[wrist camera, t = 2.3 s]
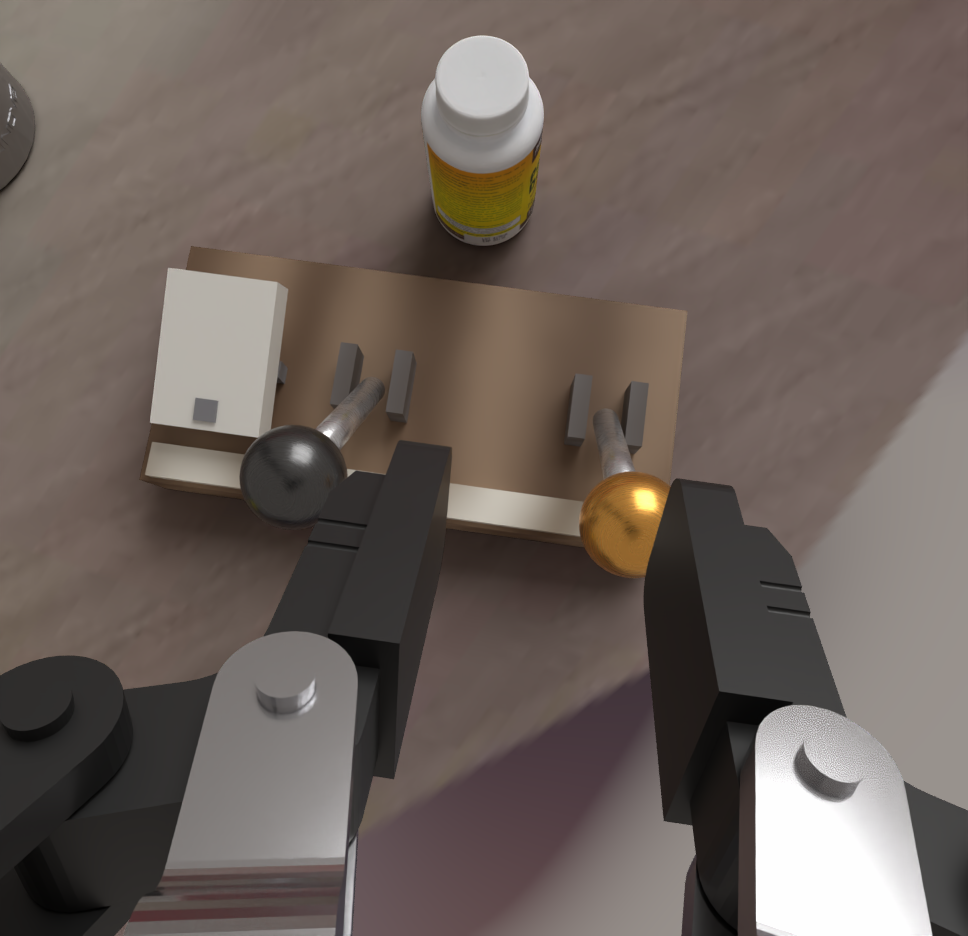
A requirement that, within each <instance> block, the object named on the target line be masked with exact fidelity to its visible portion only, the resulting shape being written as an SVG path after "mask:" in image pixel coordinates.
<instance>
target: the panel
mask: <svg viewBox="0 0 968 936" xmlns="http://www.w3.org/2000/svg"><path fill="white" fill-rule="evenodd" d="M186 270H189V271H197V272H204V273H212V274H220V275H227V276H235V277H242V278H250V279H258V280H265V281H273V282H278V283H280V284H281V285H283V286H284V287H286V288H287V289H288V295H287V303H286V311H285V319H284V327H283V335H282V343H281V351H280V359H279V367H278V375H277V383H276V391H275V399H274V407H273V415H272V423H271V429H274V428H277V427H280V426H285V425H302V426H307V427H311V428H314V429H316V428H317V427H318V426H319V425H320V424H321V423H322V422H323V421H324V420H325V419H326V418H327V417H328V415H329V414H330V413H331V412H332V411H333V410H334V409H335V408H336V407H337V406H338V405H339V404H340V403H341V402H342V401H343V400H344V399H345V398H346V397H347V396H348V395H349V394H350V393H351V392H352V391H353V390H354V389H355V388H356V387H357V386H358V385H359V384H360V383H361V382H362V381H363V380H364V379H365V378H367V377H376V378H378V379H380V380H381V381H382V383H383V384H384V387H385V393H384V396H383V397H382V399H381V400H380V401H379V402H378V404H377V405H376V406H375V407H374V409H373V410H372V411H371V412H370V414H369V415H368V416H367V417H366V419H365V420H364V421H363V422H362V424H361V425H360V426H359V427H358V429H357V430H356V431H355V432H354V433H353V435H352V436H351V437H350V438H349V440H348V441H347V442H346V443H345V445H344V446H343V447H342V448H341V450H340V451H341V453H342V455H343V457H344V460H345V463H346V467H347V473H348V476H350V475H351V474H352V473H353V472H355V471H363V472H371V473H378V474H385V475H386V472H387V470H388V467H389V464H390V462H391V459H392V456H393V453H394V451H395V448H396V445H397V443H398V441H399V440H405V441H412V442H419V443H426V444H434V445H441V446H448V447H452V464H451V476H450V488H449V499H448V511H447V523H446V528H449V529H456V530H463V531H470V532H477V533H484V534H491V535H498V536H506V537H513V538H520V539H527V540H534V541H541V542H548V543H555V544H562V545H569V546H576V547H584V546H583V543H582V540H581V537H580V532H579V517H580V511H581V508H582V505H583V503H584V501H585V499H586V497H587V495H588V494H589V493H590V491H591V490H592V489H593V488H594V487H595V486H596V485H597V484H598V483H600V482H601V481H602V480H604V477H603V472H602V467H601V462H600V457H599V452H598V447H597V442H596V437H595V432H594V428H593V422H592V420H593V416H594V414H595V413H596V412H597V411H599V410H601V409H604V408H607V409H611V410H613V411H614V412H615V413H616V414H617V416H618V419H619V422H620V425H621V428H622V431H623V434H624V437H625V440H626V444H627V447H628V450H629V453H630V456H631V459H632V462H633V465H634V468H635V472H643V473H648V474H651V475H653V476H656V477H658V478H660V479H661V480H663V481H664V482H666V483H667V484H668V485H669V486H670V477H671V467H672V457H673V448H674V438H675V428H676V418H677V408H678V398H679V388H680V378H681V369H682V359H683V349H684V339H685V329H686V319H687V311H684V310H676V309H668V308H661V307H653V306H645V305H638V304H630V303H622V302H615V301H607V300H599V299H592V298H584V297H576V296H569V295H561V294H554V293H546V292H538V291H531V290H523V289H515V288H508V287H500V286H492V285H485V284H477V283H469V282H462V281H454V280H446V279H439V278H431V277H423V276H416V275H408V274H400V273H393V272H385V271H377V270H370V269H362V268H354V267H347V266H339V265H331V264H324V263H316V262H308V261H301V260H293V259H285V258H278V257H270V256H262V255H255V254H247V253H239V252H232V251H224V250H216V249H209V248H201V247H194V246H191V249H190V253H189V258H188V262H187V267H186ZM256 439H257V437H250V436H243V435H235V434H228V433H221V432H214V431H206V430H199V429H192V428H185V427H177V426H170V425H163V424H156V423H152V425H151V430H150V434H149V439H148V443H147V448H146V452H145V457H144V461H143V466H142V470H141V475H140V479H139V480H142V481H145V482H148V483H151V484H154V485H157V486H160V487H163V488H166V489H172V490H179V491H187V492H194V493H201V494H208V495H215V496H222V497H229V498H236V499H243V500H244V498H243V495H242V492H241V488H240V481H239V475H240V467H241V463H242V460H243V457H244V455H245V453H246V452H247V450H248V448H249V447H250V446H251V444H252V443H253V442H254V441H255V440H256Z"/></svg>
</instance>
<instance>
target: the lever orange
mask: <svg viewBox="0 0 968 936" xmlns="http://www.w3.org/2000/svg"><path fill="white" fill-rule="evenodd" d="M592 422H593V428H594V432H595V437H596V442H597V447H598V452H599V457H600V462H601V467H602V472H603V477H604V480H602V481H601V482H600V483H598V484H597V485H596V486H595V487H594V488H593V489H592V490H591V491H590V493H589V494H588V495H587V497H586V499H585V501H584V503H583V505H582V508H581V511H580V517H579V532H580V537H581V540H582V543H583V546H584V548H585V550H586V551H587V553H588V554H589V556H590V557H591V558H592V560H593V561H594V562H595V563H596V564H598V565H599V566H600V567H601V568H603V569H604V570H606V571H607V572H610V573H612V574H614V575H617V576H621V577H626V578H642V577H645V576H646V570H647V565H648V561H649V558H650V554H651V551H652V548H653V544H654V541H655V537H656V534H657V531H658V527H659V524H660V521H661V517H662V514H663V510H664V507H665V504H666V500H667V497H668V494H669V490H670V488H671V487H670V486H669V485H668V484H667V483H666V482H664V481H663V480H661V479H660V478H658V477H656V476H653V475H651V474H648V473H643V472H635V468H634V465H633V462H632V459H631V456H630V453H629V450H628V447H627V444H626V440H625V437H624V434H623V431H622V428H621V425H620V422H619V419H618V416H617V414H616V413H615V412H614V411H613V410H611V409H607V408H604V409H601V410H599V411H597V412H596V413H595V414H594V416H593V420H592Z"/></svg>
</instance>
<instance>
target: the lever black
mask: <svg viewBox="0 0 968 936" xmlns="http://www.w3.org/2000/svg"><path fill="white" fill-rule="evenodd" d="M384 393H385V387H384V384H383V383H382V381H381V380H380V379H378V378H376V377H367V378H365V379H364V380H363V381H362V382H361V383H360V384H359V385H358V386H357V387H356V388H355V389H354V390H353V391H352V392H351V393H350V394H349V395H348V396H347V397H346V398H345V399H344V400H343V401H342V402H341V403H340V404H339V405H338V406H337V407H336V408H335V409H334V410H333V411H332V412H331V413H330V414H329V415H328V417H327V418H326V419H325V420H324V421H323V422H322V423H321V424H320V425H319V426H318V427H317V428H316V429H314V428H311V427H307V426H302V425H285V426H280V427H277V428H274V429H271V430H269V431H267V432H265V433H264V434H262V435H261V436H260V437H258V438H257V439H256V440H255V441H254V442H253V443H252V444H251V446H250V447H249V448H248V450H247V452H246V453H245V455H244V457H243V460H242V463H241V467H240V475H239V481H240V488H241V492H242V495H243V498H244V500H245V502H246V504H247V505H248V507H249V508H250V509H251V511H252V512H253V513H254V514H255V515H256V516H257V517H259V518H260V519H261V520H263V521H264V522H266V523H268V524H270V525H272V526H274V527H278V528H282V529H289V530H299V529H305V528H309V527H312V526H315V524H316V523H318V517H319V515H320V513H321V511H322V508H323V506H324V504H325V502H326V500H327V497H328V495H329V493H330V491H331V490H332V489H334V488H335V487H336V486H337V485H339V484H340V483H341V482H342V481H344V480H345V479H346V478H347V477H348V473H347V467H346V463H345V460H344V457H343V455H342V453H341V451H340V450H341V448H342V447H343V446H344V445H345V443H346V442H347V441H348V440H349V438H350V437H351V436H352V435H353V433H354V432H355V431H356V430H357V429H358V427H359V426H360V425H361V424H362V422H363V421H364V420H365V419H366V417H367V416H368V415H369V414H370V412H371V411H372V410H373V409H374V407H375V406H376V405H377V404H378V402H379V401H380V400H381V399H382V397H383V396H384Z"/></svg>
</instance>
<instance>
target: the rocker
mask: <svg viewBox="0 0 968 936" xmlns="http://www.w3.org/2000/svg"><path fill="white" fill-rule="evenodd" d="M287 295H288V289H287V288H286V287H284V286H283V285H281V284H280V283H278V282H273V281H265V280H258V279H250V278H242V277H235V276H227V275H220V274H212V273H204V272H197V271H189V270H182V269H174V268H168V273H167V282H166V290H165V299H164V307H163V316H162V324H161V333H160V341H159V349H158V358H157V366H156V375H155V383H154V392H153V400H152V408H151V417H150V423H156V424H163V425H170V426H177V427H185V428H192V429H199V430H206V431H214V432H221V433H228V434H235V435H243V436H250V437H257V438H258V437H260V436H261V435H262V434H264V433H265V432H267V431H269V430H271V423H272V415H273V407H274V399H275V391H276V383H277V375H278V367H279V359H280V351H281V343H282V335H283V327H284V319H285V311H286V303H287Z"/></svg>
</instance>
